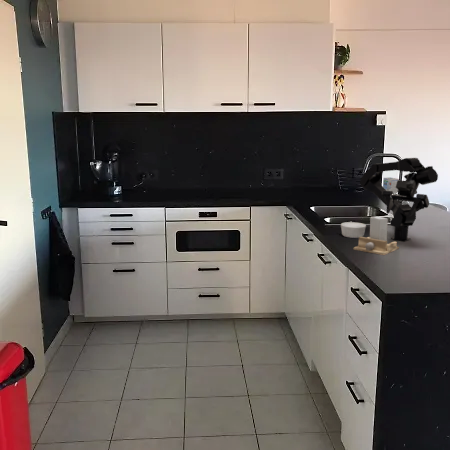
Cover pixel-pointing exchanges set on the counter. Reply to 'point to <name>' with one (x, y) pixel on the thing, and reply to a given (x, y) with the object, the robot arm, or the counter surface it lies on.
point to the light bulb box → (390, 184)
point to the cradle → (375, 246)
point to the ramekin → (353, 229)
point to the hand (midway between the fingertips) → (397, 214)
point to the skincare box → (378, 228)
